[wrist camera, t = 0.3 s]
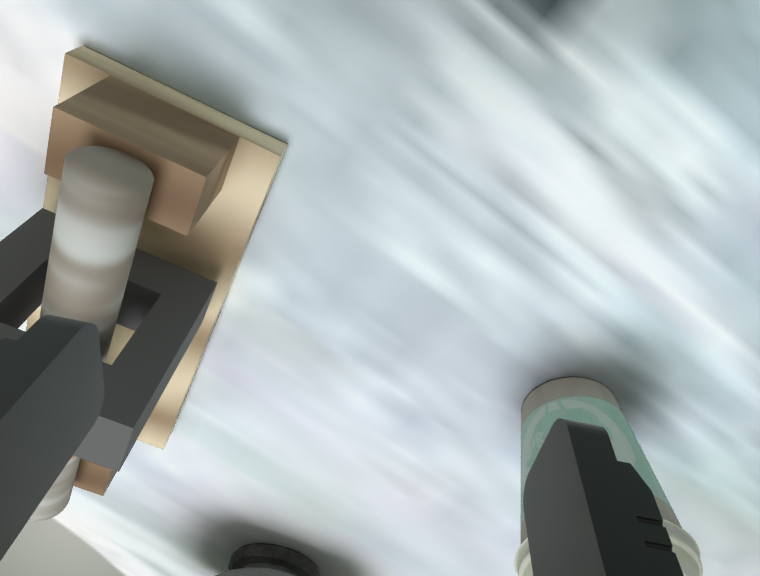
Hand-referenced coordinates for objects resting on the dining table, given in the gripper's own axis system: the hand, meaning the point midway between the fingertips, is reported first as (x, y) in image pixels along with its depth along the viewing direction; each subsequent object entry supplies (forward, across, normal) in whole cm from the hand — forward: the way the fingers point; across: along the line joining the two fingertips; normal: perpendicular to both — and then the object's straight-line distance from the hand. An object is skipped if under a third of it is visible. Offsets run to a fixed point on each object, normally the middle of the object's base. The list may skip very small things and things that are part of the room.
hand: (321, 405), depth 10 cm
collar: (+17, +12, +10) cm, 23 cm away
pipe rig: (+20, +13, +13) cm, 27 cm away
